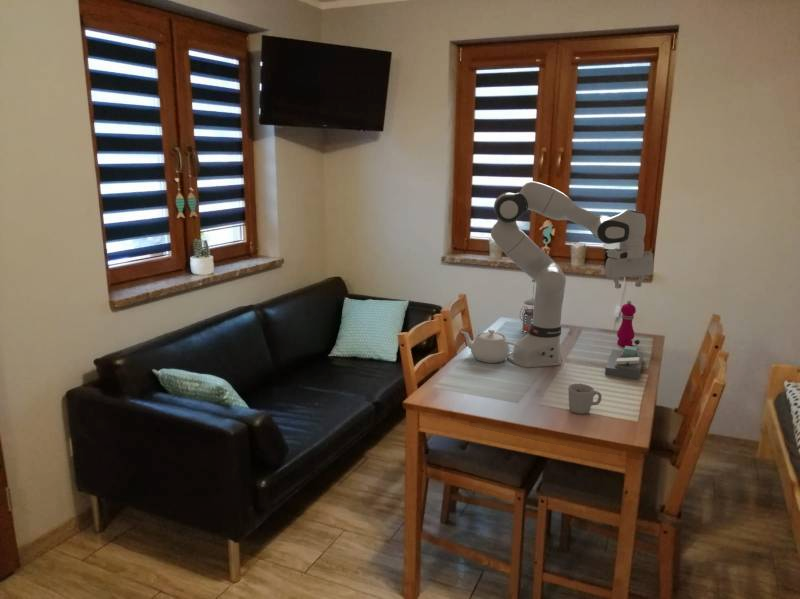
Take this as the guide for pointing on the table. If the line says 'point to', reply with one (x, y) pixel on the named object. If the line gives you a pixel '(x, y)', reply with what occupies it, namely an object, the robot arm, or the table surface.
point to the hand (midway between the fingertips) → (628, 287)
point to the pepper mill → (626, 325)
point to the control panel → (623, 366)
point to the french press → (528, 312)
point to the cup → (582, 398)
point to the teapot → (490, 347)
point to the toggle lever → (636, 343)
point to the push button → (630, 350)
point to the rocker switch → (628, 360)
